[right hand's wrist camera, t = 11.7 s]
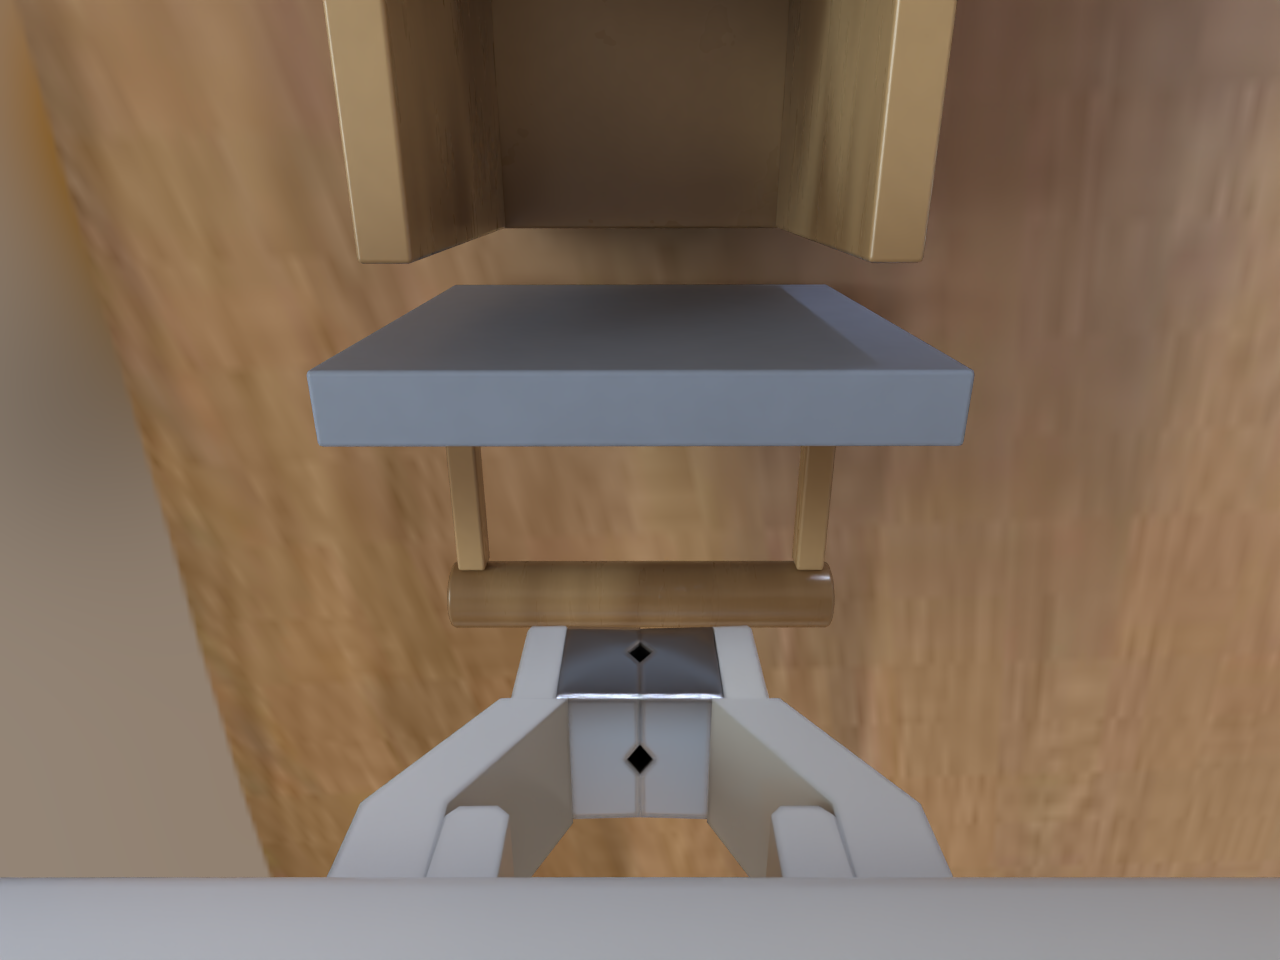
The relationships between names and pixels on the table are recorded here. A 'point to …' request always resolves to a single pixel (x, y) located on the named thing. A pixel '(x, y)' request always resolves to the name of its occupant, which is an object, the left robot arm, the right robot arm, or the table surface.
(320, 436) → the drawer
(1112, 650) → the table surface
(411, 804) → the right robot arm
